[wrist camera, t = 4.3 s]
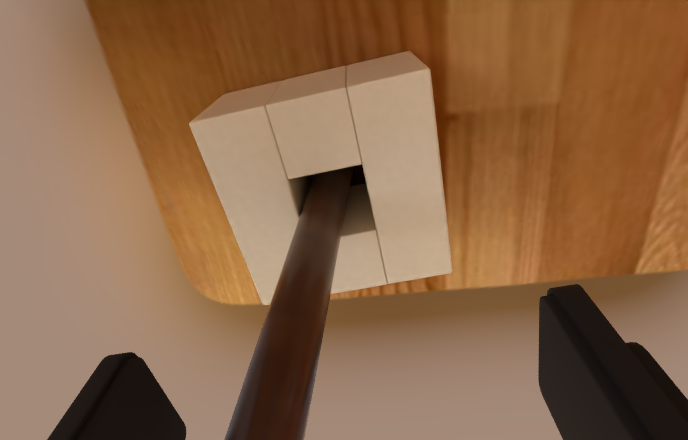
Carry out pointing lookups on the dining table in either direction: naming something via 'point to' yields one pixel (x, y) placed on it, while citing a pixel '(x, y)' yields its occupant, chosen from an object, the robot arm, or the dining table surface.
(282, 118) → the holder
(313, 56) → the dining table surface
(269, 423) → the stick
